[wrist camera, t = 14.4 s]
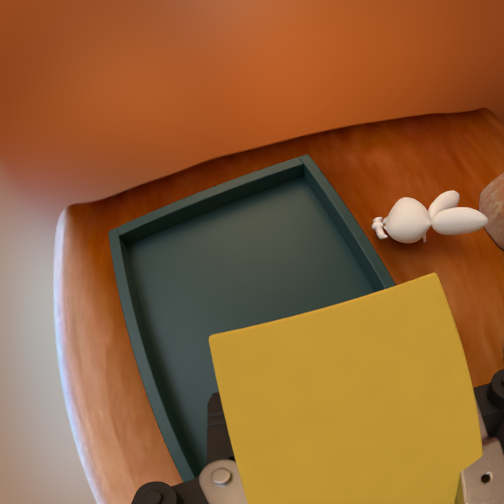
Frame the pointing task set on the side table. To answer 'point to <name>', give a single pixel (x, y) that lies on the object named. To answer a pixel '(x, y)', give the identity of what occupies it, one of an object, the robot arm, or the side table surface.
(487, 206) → the vase
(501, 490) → the robot arm
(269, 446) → the sponge
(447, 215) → the rabbit figurine
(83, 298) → the side table surface
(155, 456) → the side table surface
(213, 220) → the tray
